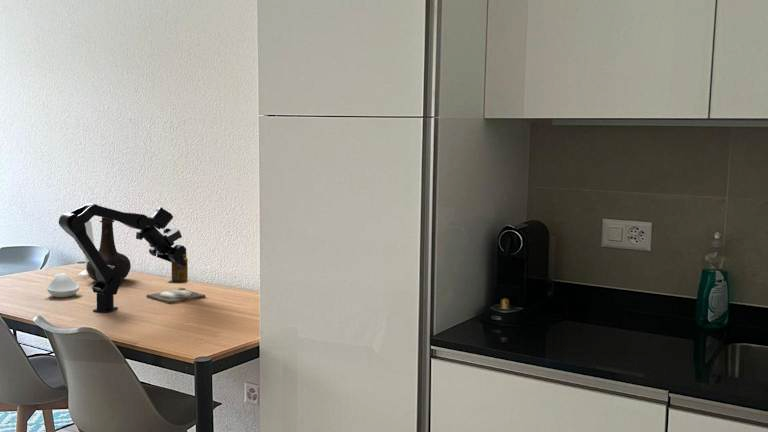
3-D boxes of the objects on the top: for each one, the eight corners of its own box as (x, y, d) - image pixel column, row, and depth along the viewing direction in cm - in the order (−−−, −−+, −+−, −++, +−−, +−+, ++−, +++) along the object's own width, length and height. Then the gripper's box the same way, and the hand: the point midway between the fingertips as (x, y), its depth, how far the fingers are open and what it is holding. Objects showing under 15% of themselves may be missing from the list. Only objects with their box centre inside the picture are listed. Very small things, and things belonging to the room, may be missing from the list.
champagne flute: (85, 275, 334) (84, 221, 331) (75, 273, 337) (74, 220, 335) (98, 273, 340) (96, 220, 337) (88, 271, 343) (86, 219, 340)
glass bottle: (113, 287, 311) (111, 220, 308) (77, 283, 317) (75, 217, 313) (139, 279, 328) (138, 215, 325) (105, 276, 334) (103, 213, 330)
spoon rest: (81, 298, 292) (81, 279, 291) (48, 301, 286) (48, 282, 285) (74, 286, 312) (73, 269, 311) (43, 289, 307) (42, 271, 306)
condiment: (190, 279, 297) (190, 249, 295) (185, 283, 288) (185, 252, 287) (171, 279, 296) (171, 249, 295) (166, 283, 288) (166, 252, 287)
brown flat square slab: (169, 304, 283) (169, 299, 283) (146, 297, 293) (146, 292, 293) (205, 297, 295) (205, 292, 295) (181, 291, 306) (181, 286, 305)
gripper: (181, 224, 281) (207, 251, 290) (156, 220, 294) (181, 245, 303) (162, 247, 276) (189, 273, 285) (137, 241, 289) (163, 267, 298)
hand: (181, 264), depth 293 cm, fingers closed on condiment, 6 cm apart
